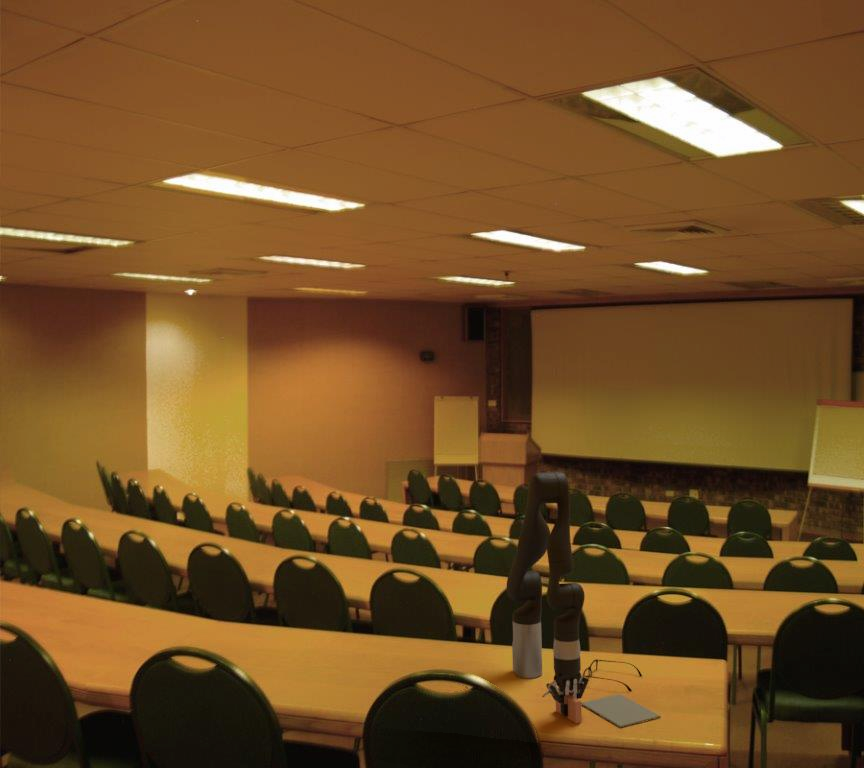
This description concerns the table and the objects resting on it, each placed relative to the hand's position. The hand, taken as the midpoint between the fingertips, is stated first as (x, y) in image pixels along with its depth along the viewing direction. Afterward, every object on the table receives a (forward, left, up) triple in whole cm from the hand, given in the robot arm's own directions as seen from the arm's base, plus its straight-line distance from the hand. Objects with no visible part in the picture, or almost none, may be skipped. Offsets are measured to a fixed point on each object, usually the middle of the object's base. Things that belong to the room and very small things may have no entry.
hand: (568, 714), depth 229 cm
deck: (0, 0, -1) cm, 1 cm away
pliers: (-17, +11, -1) cm, 20 cm away
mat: (+4, +15, -1) cm, 16 cm away
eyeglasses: (-16, +28, -1) cm, 32 cm away
